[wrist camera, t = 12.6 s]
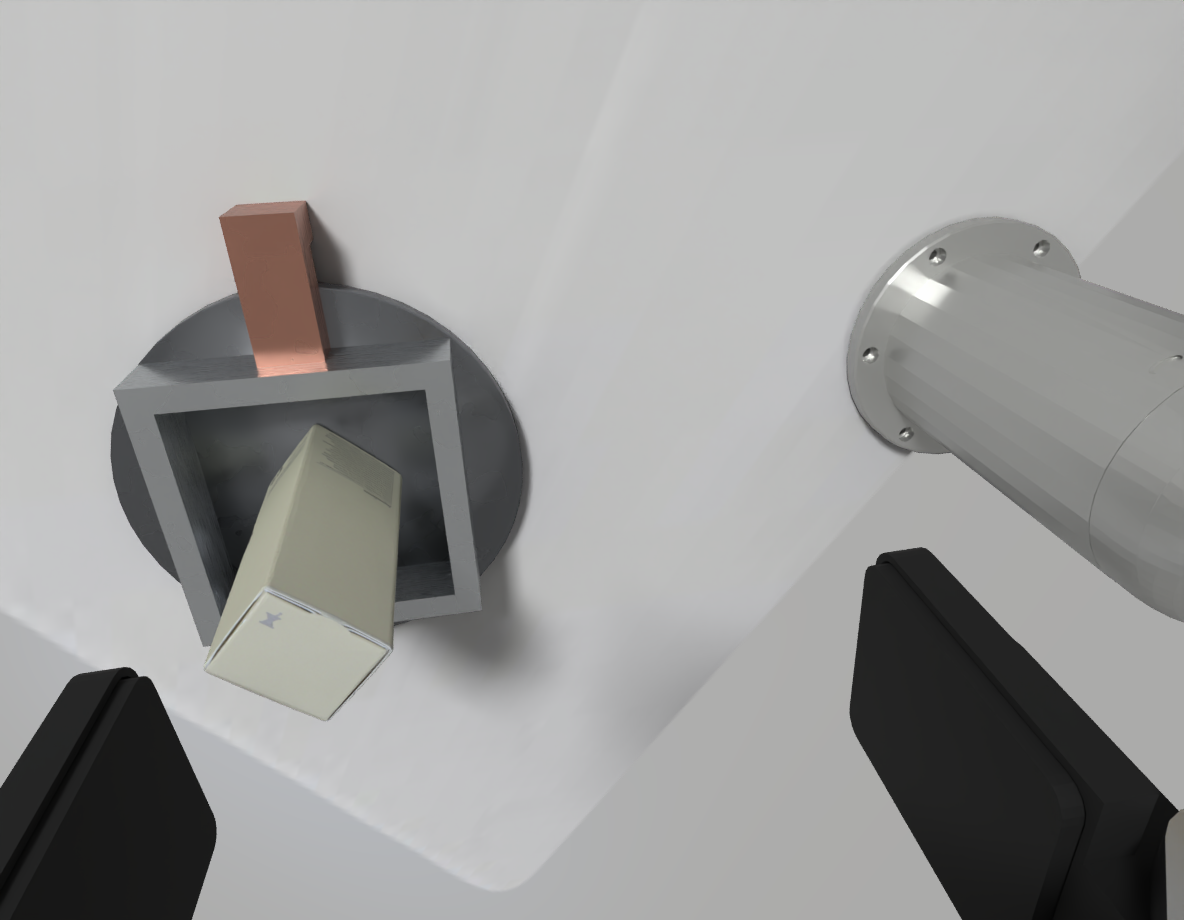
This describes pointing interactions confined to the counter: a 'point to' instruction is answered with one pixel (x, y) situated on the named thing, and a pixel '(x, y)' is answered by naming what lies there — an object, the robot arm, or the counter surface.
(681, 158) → the counter surface
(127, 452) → the disc with square frame
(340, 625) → the box
